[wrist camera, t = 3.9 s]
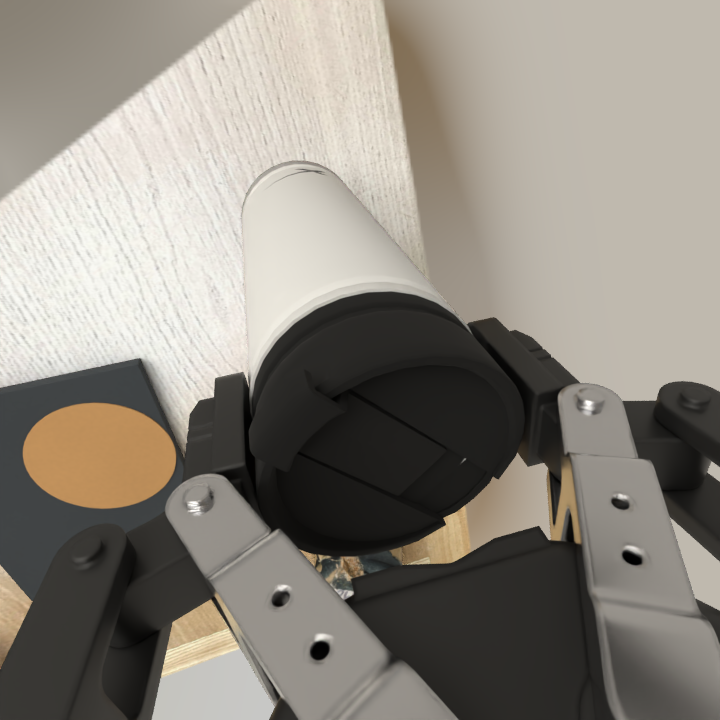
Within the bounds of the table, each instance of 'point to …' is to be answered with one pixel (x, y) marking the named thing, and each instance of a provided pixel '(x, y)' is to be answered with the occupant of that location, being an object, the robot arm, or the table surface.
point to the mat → (79, 462)
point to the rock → (354, 568)
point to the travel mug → (359, 376)
